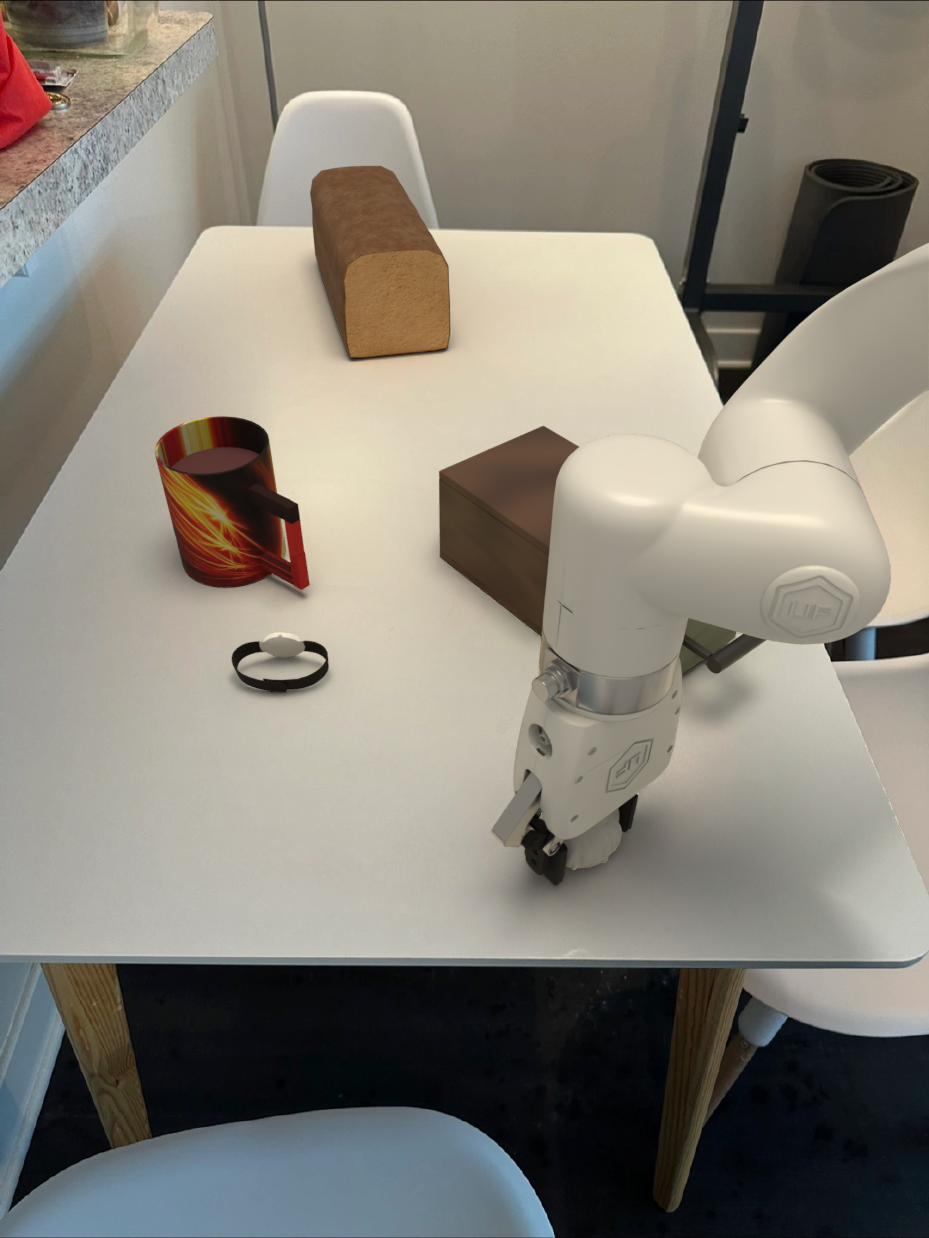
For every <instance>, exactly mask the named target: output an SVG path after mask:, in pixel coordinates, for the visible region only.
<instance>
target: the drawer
mask: <svg viewBox="0 0 929 1238" xmlns="http://www.w3.org/2000/svg"><path fill="white" fill-rule="evenodd" d="M737 633H738V632H735V631H732V630H729V629H725V628H722V627H718V626H715V625H711V624H708V623H704V622H701V621H697V620H693V619H690V618H688V622H687V626H686V630H685V635H684V639H683V643H682V647H681V651H680V656H679V658H680V662H681V670H682V675H683V674H684V673H686V672H687V671H688V670H690V669H691V668H693V667H694V666H696V665H697V664H699V663H700V662H702V661H705V664H706V667H707V669H708V671H710V673H712V674H715V675H718V674H721V673H723V672H724V671H725V670H727V669H728V668H729V667H731V666H732V665H733V664H735V663H736V662H738V661H739V660H740V659H742V658H744V657H745V656H746V655H748V654H749V653H751V652H752V651H753V650H755V649H756V648H758V647H759V646H760V645H762V644H764V643H765V642H766V641H767V640H765V639H761V638H757V637H753V636H750V635H746V634H742V633H741V635H739V636H738V637H737V638H736V636H737Z"/></svg>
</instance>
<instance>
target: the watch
mask: <svg viewBox="0 0 929 1238" xmlns="http://www.w3.org/2000/svg"><path fill="white" fill-rule="evenodd" d="M303 652H308V653H313V654H316V655H319V656H321V657H322V658H324V660H325V661H324V663H323V664H322V665H321V667H319V668H318V669H317V670H315V671H313V672H312V673H310V674H307V675H306V676H302V677H298V678H288V679H272V678H265V677H264V678H263V679H258V678H255V677H251V676H249V675H246V674H244V673H242V672H241V671H239V669H238V667H239V664H240V662H241V661H242V660H243V659H245V658H246V657H248V656H251V655H254V654H259V653H266V654H268V655H270V656H274V657H280V658H291V657H296V656H299V655H300V654H302V653H303ZM231 665H232V667H233V668H234V671H235V673H236V676H237V677H238V678H239V680H240V681H241V682H242V683H243V684H244V685H246V686H249V687H250V688H254V689H257V690H261V691H265V692H270V693H273V692H274V693H286V692H287V691H295V690H302V689H306V688H309V687H311V686H314V685H315V684H317V683H318V682H320V681H321V680H323V678H324V677H326V675H327V673H328V671H329V667H330V666H329V665H330V663H329V653H328V650H327V649H326V647H325V646H324V645H322V644H321V643H319V642H317V641H312V640H305V639H301V637H300V636H299V635H296V634H293V633H289V632H283V631H281V632H279V631H278V632H277V631H276V632H272V633H270V634H268V635H266V636H265V637H264V638H263V640H258V641H257V640H255V641H254V640H253V641H250V642H245V643H243V644H241V645H239V646H237V647H236V648H235V650H234V651H233V652H232V654H231Z"/></svg>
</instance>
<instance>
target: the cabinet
mask: <svg viewBox="0 0 929 1238" xmlns="http://www.w3.org/2000/svg"><path fill="white" fill-rule="evenodd" d="M579 447H580V446H579V445H577V444H576V443H574V442H572V441H571V440H569V439H568V438H565V437H564V436H562V435H560V434H558V433H557V432H555V431H554V430H552V429H551V428H548V427H547V426H545V425H541V426H539V427H537V428H534V429H532V430H529V431H528V432H525V433H523V434H521V435H518V436H516V437H513V438H511V439H509V440H507V441H504V442H502V443H500V444H498V445H495V446H493V447H491V448H488V449H486V450H484V451H482V452H479V453H477V454H475V455H472V456H471V457H467V458H465V459H463V460H461V461H459V462H456V463H454V464H452V465H449V466H447V467H444V468H442V469H440V470H439V471H438V509H439V510H438V513H439V515H438V517H439V518H438V519H439V520H438V521H439V523H438V525H439V530H438V531H439V558H441V559H442V560H444V561H445V562H446V563H447V564H448V565H450V566H451V567H453V568H454V569H455V570H456V571H457V572H459V573H460V574H462V575H463V576H464V577H465V578H466V579H468V580H469V581H470V582H472V583H473V584H474V585H475V586H477V587H478V588H479V589H481V590H482V591H483V592H484V593H486V594H487V595H488V596H489V597H491V598H492V599H493V600H495V602H497V603H498V604H500V605H501V606H502V607H504V609H506V610H507V611H509V612H510V613H511V614H513V615H514V616H515V617H516V618H518V619H519V620H520V621H522V622H523V623H524V624H525V625H527V626H528V627H529V628H531V629H532V630H533V631H534V632H535V633H537V634H538V635H539V636H541V635H542V624H543V613H544V603H545V593H546V582H547V572H548V560H549V549H550V537H551V526H552V514H553V502H554V493H555V486H556V480H557V477H558V474H559V472H560V469H561V467H562V465H563V464H564V462H565V461H566V459H567V458H568V457H569V456H570V455H571V454H572V453H573V452H574V451H575V450H576V449H577V448H579Z"/></svg>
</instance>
